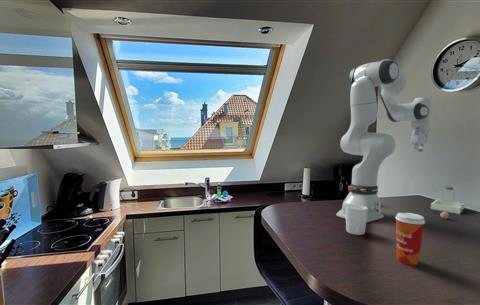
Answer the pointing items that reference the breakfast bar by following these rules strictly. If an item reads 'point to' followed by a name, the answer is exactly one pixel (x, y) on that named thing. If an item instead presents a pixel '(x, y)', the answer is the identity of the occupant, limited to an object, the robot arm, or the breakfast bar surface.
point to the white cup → (356, 219)
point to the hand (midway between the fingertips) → (418, 152)
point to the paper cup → (408, 237)
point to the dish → (447, 207)
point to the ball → (444, 215)
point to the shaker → (448, 196)
